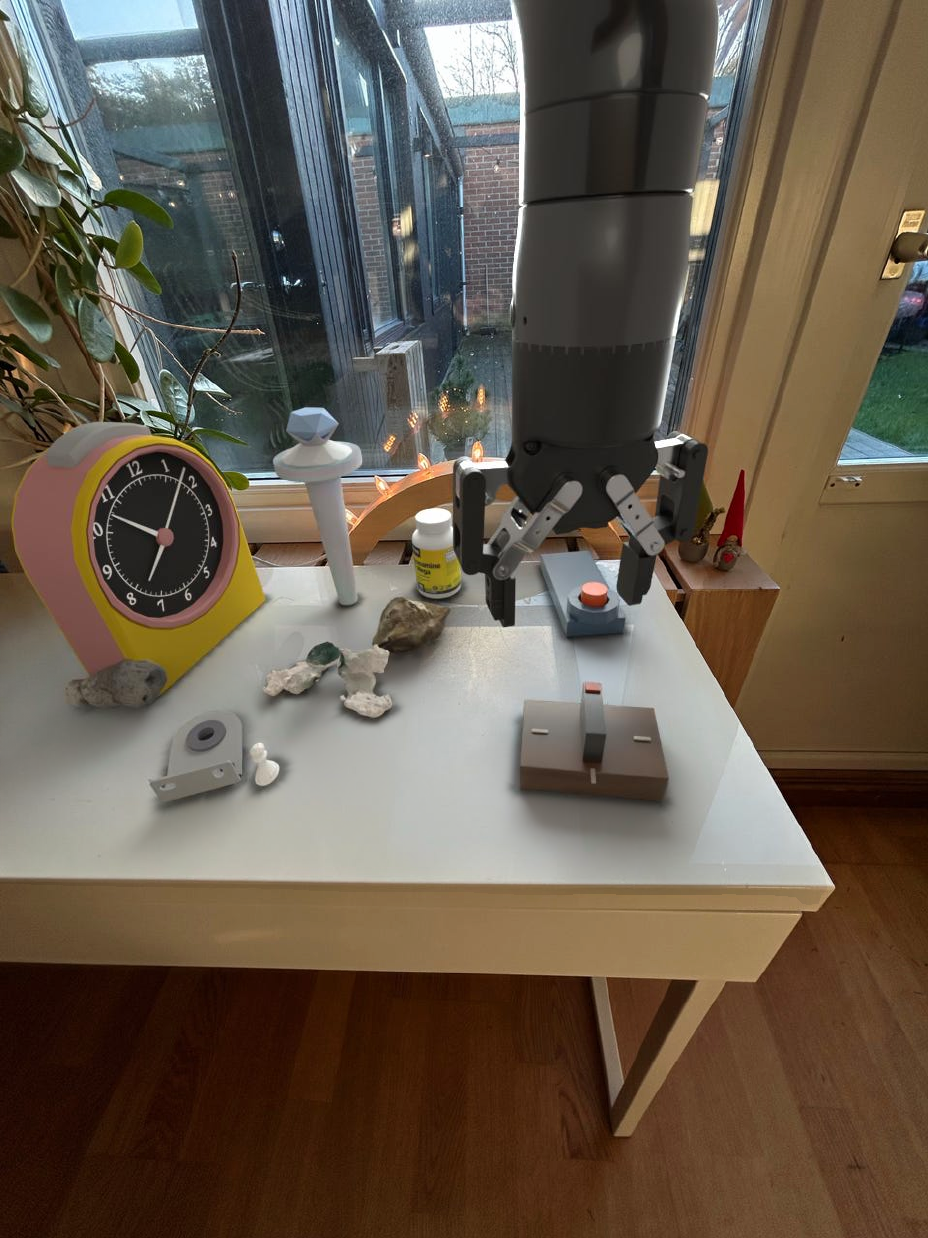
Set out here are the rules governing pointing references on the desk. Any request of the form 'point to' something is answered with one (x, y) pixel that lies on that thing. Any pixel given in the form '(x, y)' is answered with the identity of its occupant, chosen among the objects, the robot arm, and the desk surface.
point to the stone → (119, 685)
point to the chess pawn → (263, 765)
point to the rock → (349, 668)
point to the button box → (579, 594)
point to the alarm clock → (134, 547)
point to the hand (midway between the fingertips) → (567, 609)
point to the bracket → (202, 756)
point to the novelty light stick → (324, 487)
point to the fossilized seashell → (409, 625)
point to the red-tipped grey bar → (592, 722)
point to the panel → (623, 772)
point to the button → (594, 594)
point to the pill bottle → (435, 554)
